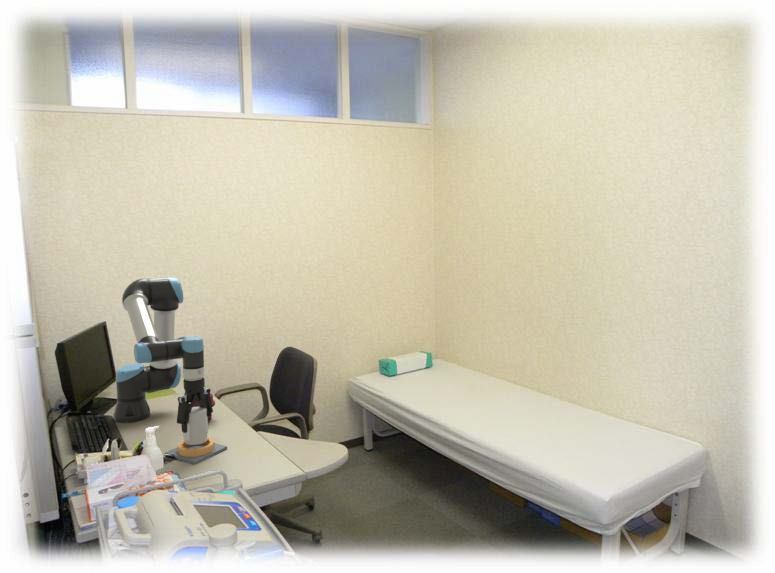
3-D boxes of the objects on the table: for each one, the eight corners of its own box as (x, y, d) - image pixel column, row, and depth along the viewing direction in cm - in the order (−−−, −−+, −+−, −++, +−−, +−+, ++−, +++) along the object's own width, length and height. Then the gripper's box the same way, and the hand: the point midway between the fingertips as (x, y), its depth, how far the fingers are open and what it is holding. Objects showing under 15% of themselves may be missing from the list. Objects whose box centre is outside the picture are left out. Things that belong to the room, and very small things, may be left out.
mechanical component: (219, 417, 246) (208, 424, 237) (199, 415, 248) (187, 423, 239) (218, 390, 245) (207, 397, 235) (198, 389, 247) (186, 395, 237)
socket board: (164, 455, 205) (164, 446, 205) (197, 440, 219) (197, 432, 219) (194, 464, 198) (194, 455, 197) (227, 448, 212) (226, 440, 211)
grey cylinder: (199, 434, 213) (198, 405, 212) (211, 440, 208) (210, 409, 207) (180, 441, 207) (179, 410, 206) (192, 446, 202) (191, 415, 201)
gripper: (178, 386, 194) (180, 447, 197) (221, 372, 213) (223, 429, 215) (164, 383, 198) (166, 443, 200) (208, 370, 216) (209, 425, 219)
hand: (195, 436), depth 208 cm, fingers closed on grey cylinder, 8 cm apart
